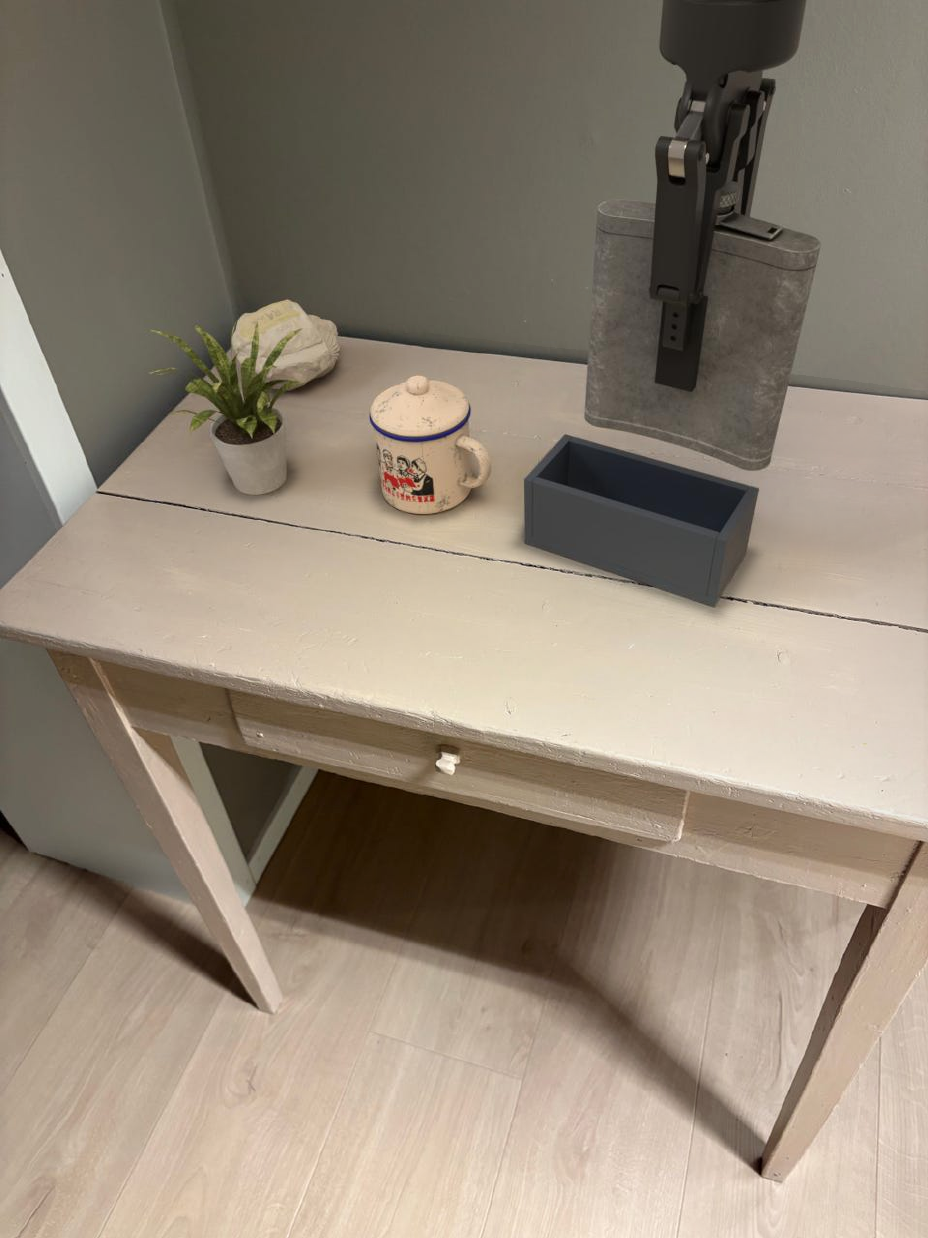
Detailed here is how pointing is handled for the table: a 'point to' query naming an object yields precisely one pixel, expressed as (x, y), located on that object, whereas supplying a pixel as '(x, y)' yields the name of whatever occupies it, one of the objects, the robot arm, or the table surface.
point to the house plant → (242, 414)
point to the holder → (639, 517)
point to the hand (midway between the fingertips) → (686, 369)
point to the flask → (732, 338)
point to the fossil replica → (301, 354)
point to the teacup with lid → (425, 446)
